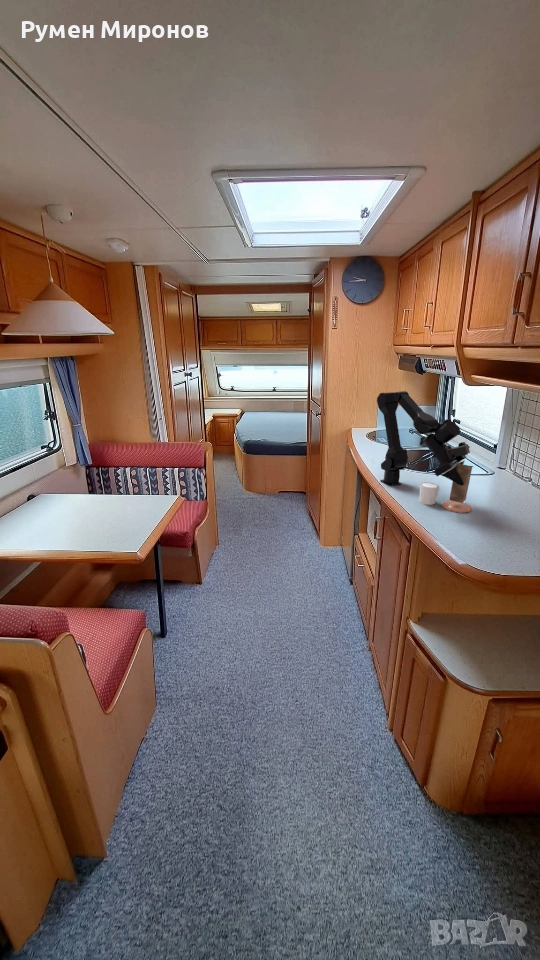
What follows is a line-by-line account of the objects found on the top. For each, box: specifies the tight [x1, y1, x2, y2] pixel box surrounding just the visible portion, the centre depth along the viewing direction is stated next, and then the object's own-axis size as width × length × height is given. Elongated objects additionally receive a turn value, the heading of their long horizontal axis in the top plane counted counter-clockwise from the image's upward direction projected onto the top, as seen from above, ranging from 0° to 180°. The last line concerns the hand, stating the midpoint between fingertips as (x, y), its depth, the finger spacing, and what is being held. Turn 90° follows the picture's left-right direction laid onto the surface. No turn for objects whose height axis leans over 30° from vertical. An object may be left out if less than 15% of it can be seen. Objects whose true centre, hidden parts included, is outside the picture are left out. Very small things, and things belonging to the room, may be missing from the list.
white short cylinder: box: [418, 481, 440, 506], centre depth 152 cm, size 7×7×7 cm
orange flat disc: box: [441, 499, 472, 514], centre depth 148 cm, size 10×10×1 cm
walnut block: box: [448, 464, 473, 503], centre depth 145 cm, size 4×4×13 cm
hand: (464, 483), depth 144 cm, fingers closed on walnut block, 4 cm apart
